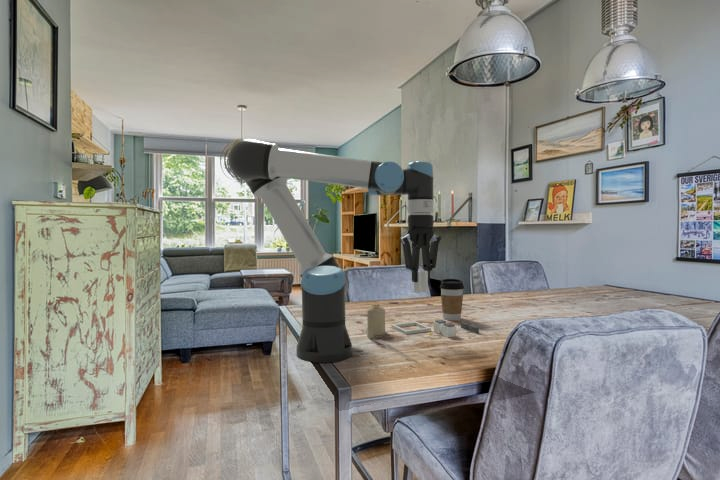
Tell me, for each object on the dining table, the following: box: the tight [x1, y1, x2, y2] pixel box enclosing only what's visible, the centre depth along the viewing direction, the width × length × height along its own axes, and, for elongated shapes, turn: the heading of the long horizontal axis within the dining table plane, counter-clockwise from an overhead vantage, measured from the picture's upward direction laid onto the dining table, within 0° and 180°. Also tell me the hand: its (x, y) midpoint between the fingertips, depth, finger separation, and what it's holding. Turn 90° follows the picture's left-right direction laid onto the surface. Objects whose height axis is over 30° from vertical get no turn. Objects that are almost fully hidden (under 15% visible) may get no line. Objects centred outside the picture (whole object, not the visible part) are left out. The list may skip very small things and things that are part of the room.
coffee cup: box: [439, 278, 465, 321], centre depth 145 cm, size 8×8×15 cm
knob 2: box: [441, 322, 457, 338], centre depth 123 cm, size 3×3×4 cm
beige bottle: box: [366, 304, 386, 340], centre depth 128 cm, size 6×6×10 cm
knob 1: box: [433, 319, 447, 335], centre depth 127 cm, size 3×3×4 cm
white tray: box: [390, 321, 480, 339], centre depth 129 cm, size 22×18×3 cm
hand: (420, 292), depth 124 cm, fingers open, 2 cm apart
